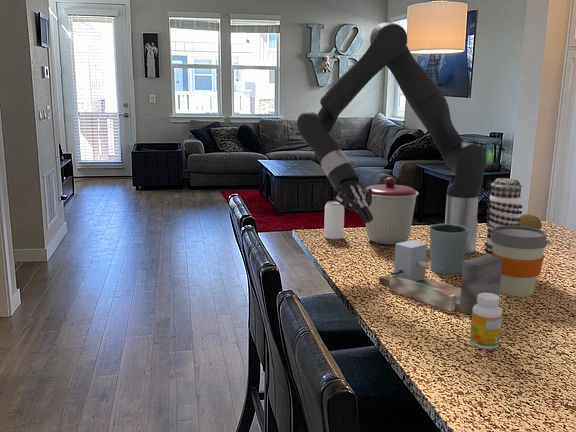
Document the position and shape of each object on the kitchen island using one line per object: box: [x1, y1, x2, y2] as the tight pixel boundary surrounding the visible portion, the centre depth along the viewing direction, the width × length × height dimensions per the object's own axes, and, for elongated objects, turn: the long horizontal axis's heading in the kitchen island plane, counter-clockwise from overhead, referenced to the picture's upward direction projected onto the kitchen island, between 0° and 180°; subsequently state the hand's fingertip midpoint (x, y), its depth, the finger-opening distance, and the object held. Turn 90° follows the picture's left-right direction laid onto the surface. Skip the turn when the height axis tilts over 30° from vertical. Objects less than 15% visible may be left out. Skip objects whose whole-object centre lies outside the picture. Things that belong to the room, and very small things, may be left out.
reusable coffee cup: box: [491, 226, 548, 297], centre depth 137 cm, size 13×12×15 cm
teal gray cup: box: [429, 223, 469, 276], centre depth 153 cm, size 10×10×12 cm
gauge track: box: [378, 254, 503, 316], centre depth 134 cm, size 28×11×12 cm, turn 38°
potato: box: [518, 213, 543, 230], centre depth 190 cm, size 7×8×8 cm
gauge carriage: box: [390, 239, 430, 282], centre depth 138 cm, size 8×10×9 cm
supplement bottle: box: [469, 293, 503, 350], centre depth 108 cm, size 5×5×10 cm
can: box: [323, 200, 345, 241], centre depth 187 cm, size 6×6×12 cm
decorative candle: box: [483, 177, 524, 255], centre depth 153 cm, size 9×9×25 cm
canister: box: [364, 177, 420, 246], centre depth 182 cm, size 18×18×21 cm
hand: (369, 221), depth 150 cm, fingers closed
